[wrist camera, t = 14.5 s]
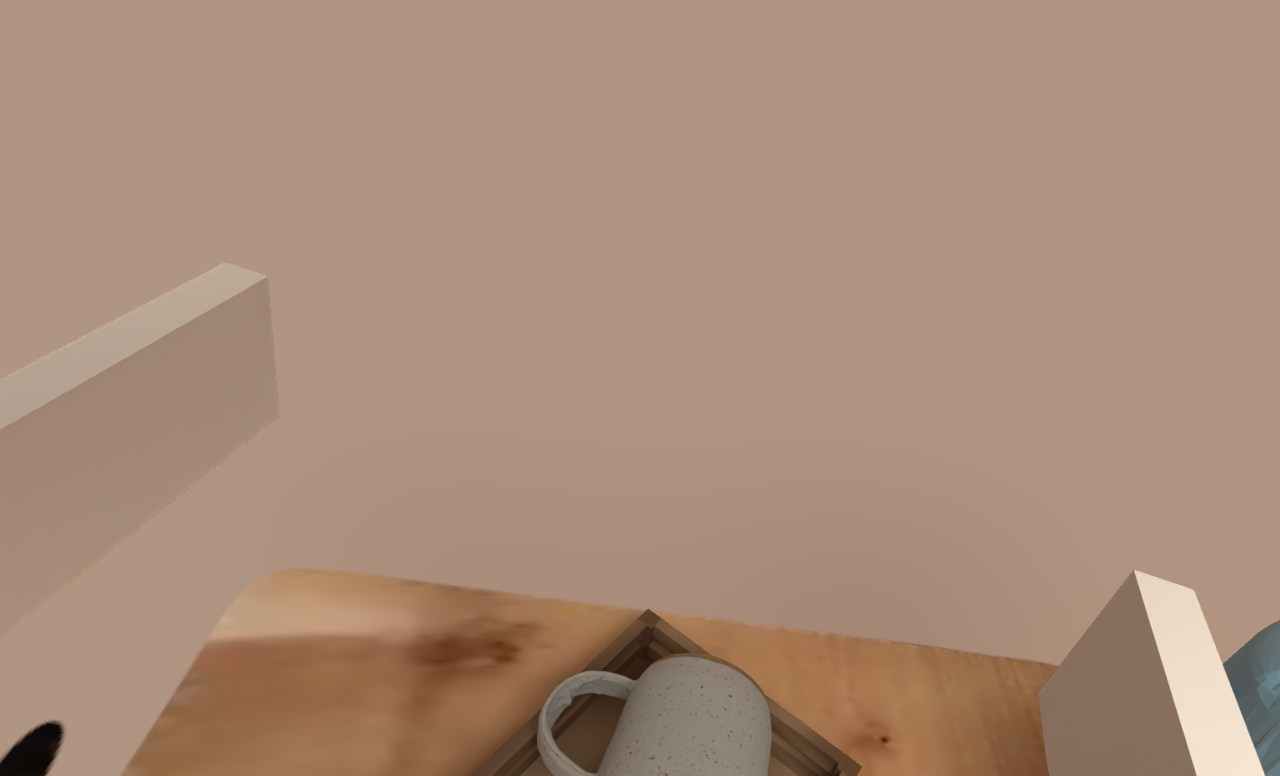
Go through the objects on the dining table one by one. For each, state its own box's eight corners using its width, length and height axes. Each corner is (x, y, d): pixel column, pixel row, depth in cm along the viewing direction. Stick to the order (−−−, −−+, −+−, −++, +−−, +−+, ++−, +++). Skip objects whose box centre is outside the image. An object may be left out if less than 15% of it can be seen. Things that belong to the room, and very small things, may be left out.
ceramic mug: (723, 755, 44) (812, 695, 39) (690, 913, 37) (793, 863, 33) (561, 650, 43) (634, 577, 38) (497, 793, 36) (576, 725, 32)
